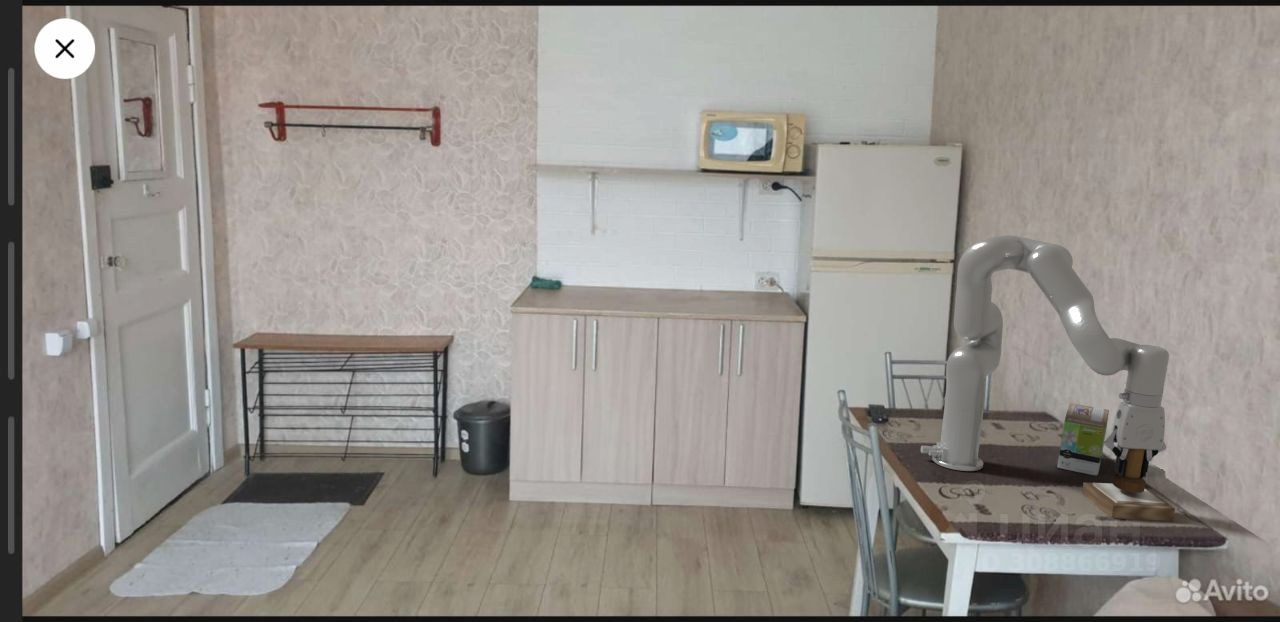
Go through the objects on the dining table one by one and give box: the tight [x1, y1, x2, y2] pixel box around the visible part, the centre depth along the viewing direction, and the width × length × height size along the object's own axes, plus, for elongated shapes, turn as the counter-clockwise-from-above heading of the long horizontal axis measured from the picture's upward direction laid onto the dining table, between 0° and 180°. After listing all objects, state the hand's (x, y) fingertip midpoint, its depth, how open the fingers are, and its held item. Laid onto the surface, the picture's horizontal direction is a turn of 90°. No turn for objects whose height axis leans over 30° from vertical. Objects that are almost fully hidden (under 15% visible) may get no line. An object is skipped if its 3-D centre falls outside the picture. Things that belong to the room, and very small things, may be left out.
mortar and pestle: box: [1112, 449, 1146, 493], centre depth 206 cm, size 7×6×18 cm
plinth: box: [1081, 481, 1176, 522], centre depth 208 cm, size 14×14×4 cm
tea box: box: [1056, 402, 1110, 477], centre depth 236 cm, size 15×10×15 cm
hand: (1130, 474), depth 207 cm, fingers closed on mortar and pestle, 4 cm apart
